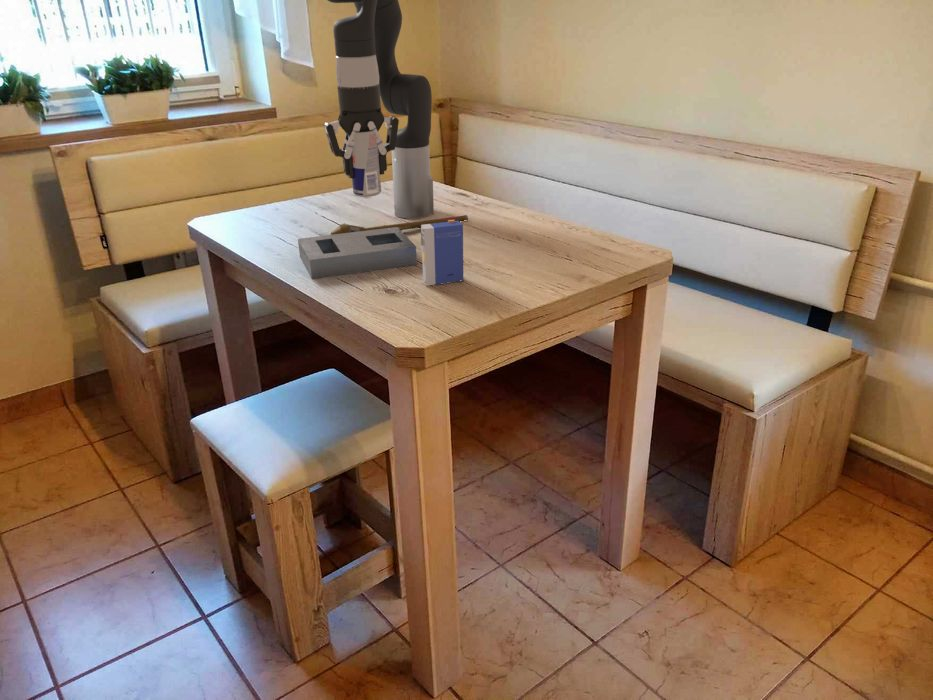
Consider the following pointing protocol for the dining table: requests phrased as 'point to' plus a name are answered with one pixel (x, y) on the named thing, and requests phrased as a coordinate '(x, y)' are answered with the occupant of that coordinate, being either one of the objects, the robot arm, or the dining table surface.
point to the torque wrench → (395, 225)
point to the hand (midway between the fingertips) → (365, 175)
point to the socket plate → (356, 252)
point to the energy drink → (365, 165)
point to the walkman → (442, 252)
